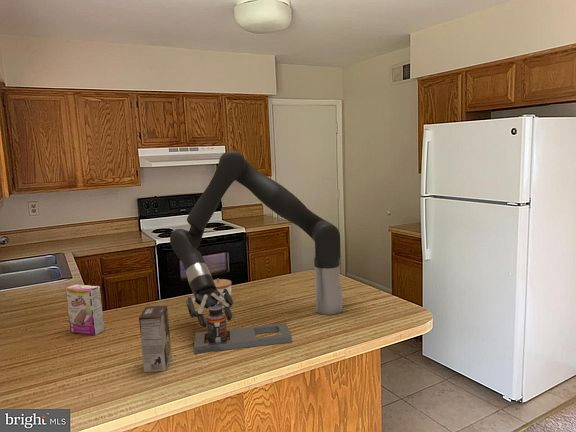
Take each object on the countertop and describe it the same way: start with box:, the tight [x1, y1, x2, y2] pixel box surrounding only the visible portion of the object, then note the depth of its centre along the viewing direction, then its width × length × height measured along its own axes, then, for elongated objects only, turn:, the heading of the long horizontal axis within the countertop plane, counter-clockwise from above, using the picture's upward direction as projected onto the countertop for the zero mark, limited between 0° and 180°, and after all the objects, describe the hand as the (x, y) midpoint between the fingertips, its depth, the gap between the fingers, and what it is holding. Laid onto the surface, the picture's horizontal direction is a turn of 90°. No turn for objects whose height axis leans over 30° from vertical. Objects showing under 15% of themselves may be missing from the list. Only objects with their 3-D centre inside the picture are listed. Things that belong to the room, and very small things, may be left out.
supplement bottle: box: [206, 305, 227, 343], centre depth 138 cm, size 6×6×11 cm
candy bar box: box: [64, 283, 106, 336], centre depth 152 cm, size 11×5×16 cm, turn 71°
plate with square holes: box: [193, 322, 293, 354], centre depth 140 cm, size 30×11×2 cm, turn 99°
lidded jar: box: [213, 278, 232, 303], centre depth 179 cm, size 11×11×9 cm
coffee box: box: [138, 304, 173, 373], centre depth 125 cm, size 9×6×16 cm
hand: (217, 322), depth 136 cm, fingers open, 8 cm apart
